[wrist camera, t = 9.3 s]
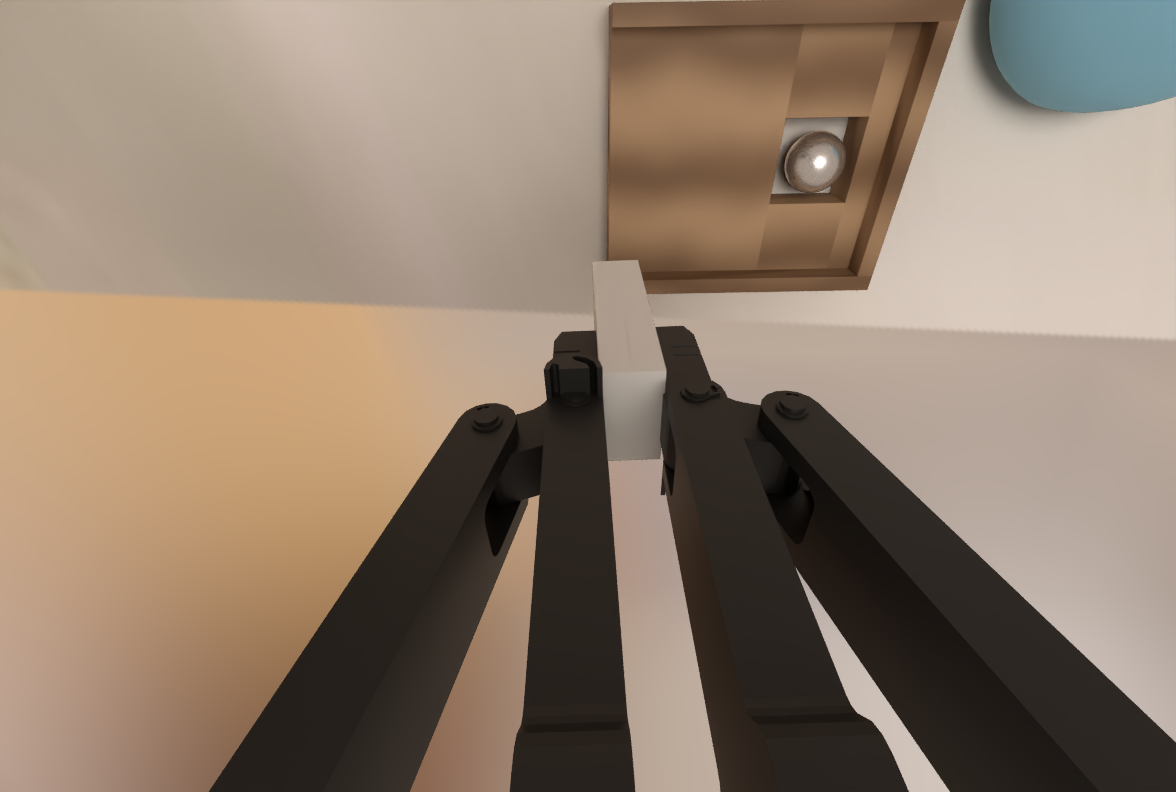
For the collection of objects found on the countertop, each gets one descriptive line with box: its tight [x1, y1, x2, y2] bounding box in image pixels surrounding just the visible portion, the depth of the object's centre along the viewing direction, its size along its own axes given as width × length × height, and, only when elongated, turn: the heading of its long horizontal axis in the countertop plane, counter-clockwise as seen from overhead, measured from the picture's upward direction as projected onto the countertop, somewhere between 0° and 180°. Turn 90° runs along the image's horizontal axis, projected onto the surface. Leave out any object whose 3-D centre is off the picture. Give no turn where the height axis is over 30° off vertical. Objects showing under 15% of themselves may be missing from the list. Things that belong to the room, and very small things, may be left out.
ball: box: [784, 131, 846, 193], centre depth 32 cm, size 4×4×4 cm
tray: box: [607, 0, 966, 294], centre depth 32 cm, size 16×18×4 cm
